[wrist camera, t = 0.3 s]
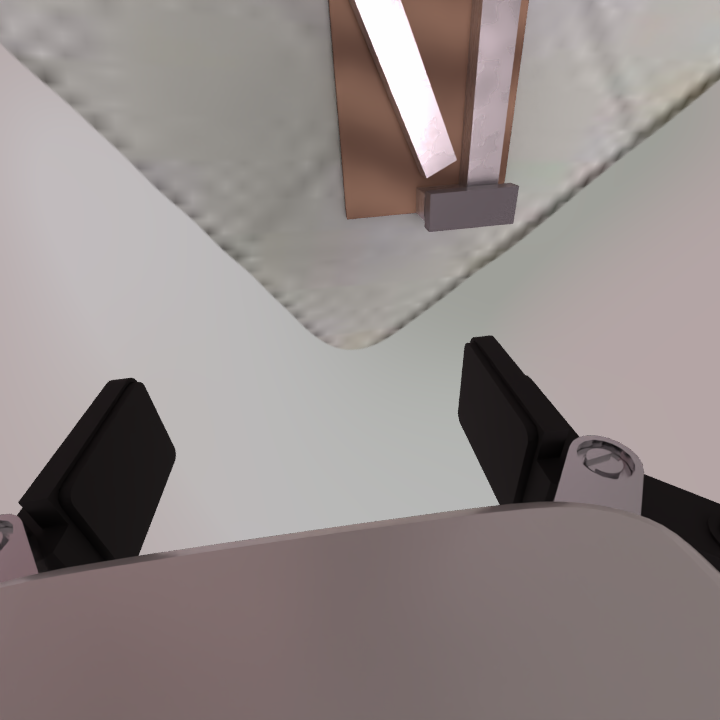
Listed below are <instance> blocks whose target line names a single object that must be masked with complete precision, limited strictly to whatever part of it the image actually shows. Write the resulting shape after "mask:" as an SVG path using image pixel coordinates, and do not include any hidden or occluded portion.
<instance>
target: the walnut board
mask: <svg viewBox="0 0 720 720" xmlns="http://www.w3.org/2000/svg"><path fill="white" fill-rule="evenodd" d="M328 1H329V13H330V25H331V38H332V50H333V62H334V74H335V86H336V98H337V110H338V122H339V135H340V147H341V159H342V171H343V183H344V195H345V207H346V217H347V219H357V218H367V217H377V216H388V215H398V214H409V213H416V188H420V187H431V186H442V185H453V184H459V174H460V160H461V146H462V133H463V119H464V105H465V92H466V78H467V64H468V51H469V37H470V23H471V10H472V0H401V2H402V5H403V8H404V11H405V14H406V16H407V19H408V22H409V25H410V28H411V31H412V33H413V36H414V39H415V42H416V45H417V48H418V51H419V53H420V56H421V59H422V62H423V65H424V68H425V71H426V73H427V76H428V79H429V82H430V85H431V88H432V91H433V93H434V96H435V99H436V102H437V105H438V108H439V111H440V113H441V116H442V119H443V122H444V125H445V128H446V131H447V133H448V136H449V139H450V142H451V145H452V148H453V151H454V153H455V156H456V159H457V160H456V161H455V162H453V163H451V164H450V165H448V166H446V167H445V168H443V169H441V170H440V171H438V172H436V173H435V174H433V175H431V176H430V177H428V178H425V177H424V176H422V175H420V172H419V170H418V167H417V165H416V162H415V160H414V158H413V155H412V153H411V150H410V148H409V145H408V143H407V141H406V138H405V136H404V133H403V131H402V128H401V126H400V123H399V121H398V119H397V116H396V114H395V111H394V109H393V106H392V104H391V102H390V99H389V97H388V94H387V92H386V89H385V87H384V85H383V82H382V80H381V77H380V75H379V72H378V70H377V67H376V65H375V63H374V60H373V58H372V55H371V53H370V50H369V48H368V46H367V43H366V41H365V38H364V36H363V33H362V31H361V28H360V26H359V24H358V21H357V19H356V16H355V14H354V11H353V9H352V7H351V4H350V2H349V0H328ZM528 3H529V0H521V6H520V13H519V21H518V29H517V37H516V45H515V53H514V61H513V69H512V77H511V85H510V93H509V101H508V109H507V117H506V124H505V132H504V140H503V148H502V156H501V164H500V172H499V180H498V184H504V181H505V174H506V167H507V159H508V152H509V144H510V137H511V129H512V122H513V115H514V107H515V100H516V92H517V85H518V77H519V70H520V62H521V55H522V48H523V40H524V33H525V25H526V18H527V10H528Z"/></svg>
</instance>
